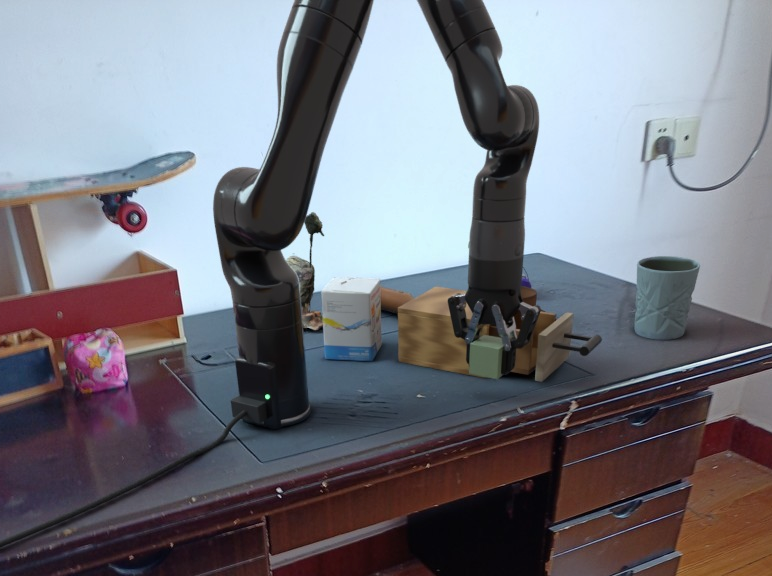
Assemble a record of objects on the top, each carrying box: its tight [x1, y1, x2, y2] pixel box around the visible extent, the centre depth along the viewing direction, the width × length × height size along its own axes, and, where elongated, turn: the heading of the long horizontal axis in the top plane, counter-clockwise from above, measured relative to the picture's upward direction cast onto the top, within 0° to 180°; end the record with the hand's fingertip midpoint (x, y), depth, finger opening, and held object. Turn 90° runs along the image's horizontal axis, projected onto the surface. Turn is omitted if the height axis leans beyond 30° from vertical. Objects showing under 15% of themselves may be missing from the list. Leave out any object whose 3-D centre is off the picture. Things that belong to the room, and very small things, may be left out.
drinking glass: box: [634, 255, 701, 341], centre depth 143 cm, size 10×10×12 cm
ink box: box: [320, 276, 383, 362], centre depth 139 cm, size 9×8×12 cm
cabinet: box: [397, 286, 490, 379], centre depth 136 cm, size 16×13×9 cm
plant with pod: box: [285, 211, 325, 331], centre depth 149 cm, size 8×11×20 cm
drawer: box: [489, 310, 603, 382], centre depth 131 cm, size 20×12×7 cm, turn 59°
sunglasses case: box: [380, 285, 415, 315], centre depth 159 cm, size 18×7×7 cm
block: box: [469, 335, 504, 380], centre depth 121 cm, size 5×5×5 cm
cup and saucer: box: [521, 286, 546, 312], centre depth 150 cm, size 12×12×6 cm
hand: (489, 369), depth 122 cm, fingers closed on block, 4 cm apart
